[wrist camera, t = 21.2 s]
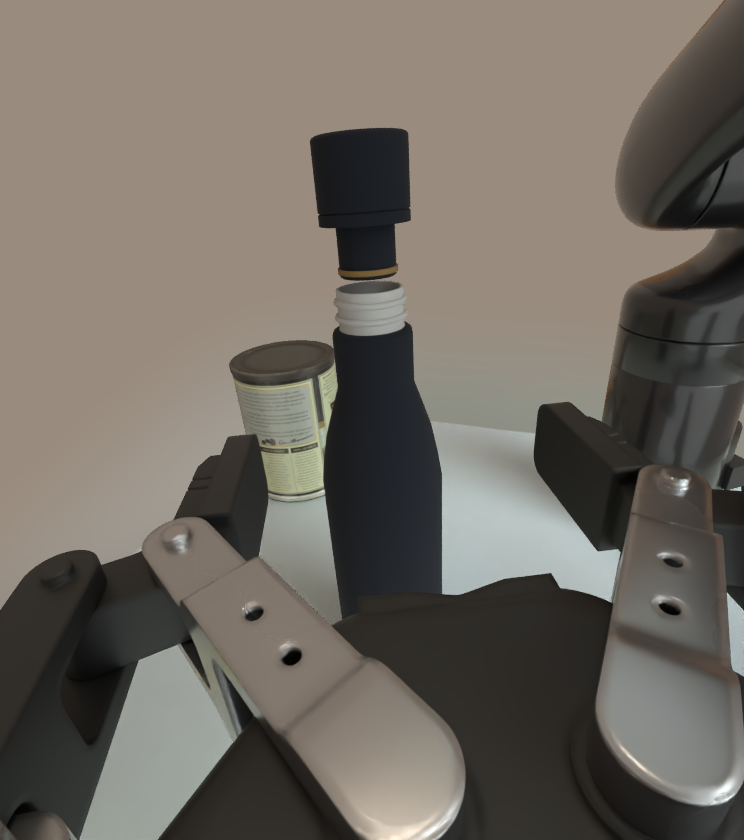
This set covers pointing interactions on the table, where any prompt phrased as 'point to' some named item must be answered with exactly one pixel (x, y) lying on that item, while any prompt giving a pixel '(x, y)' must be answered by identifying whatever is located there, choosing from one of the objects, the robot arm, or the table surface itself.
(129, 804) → the table surface
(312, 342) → the coffee can
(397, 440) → the dark blue water bottle
